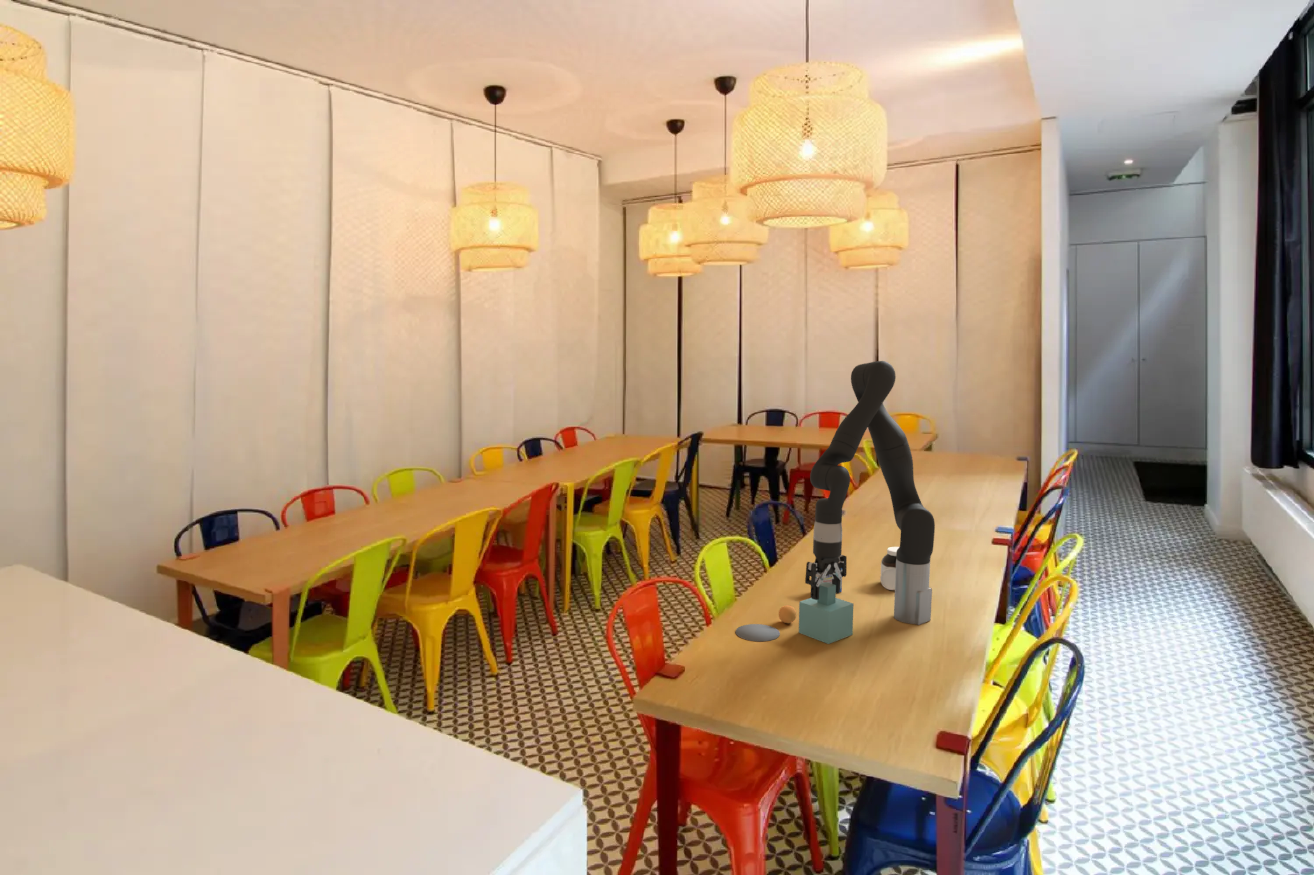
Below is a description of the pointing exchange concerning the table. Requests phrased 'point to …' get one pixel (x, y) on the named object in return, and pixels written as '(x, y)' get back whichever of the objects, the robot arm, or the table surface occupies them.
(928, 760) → the table surface
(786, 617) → the ball
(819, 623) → the teal cube with peg
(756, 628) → the spot
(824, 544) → the robot arm
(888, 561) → the spread jar
